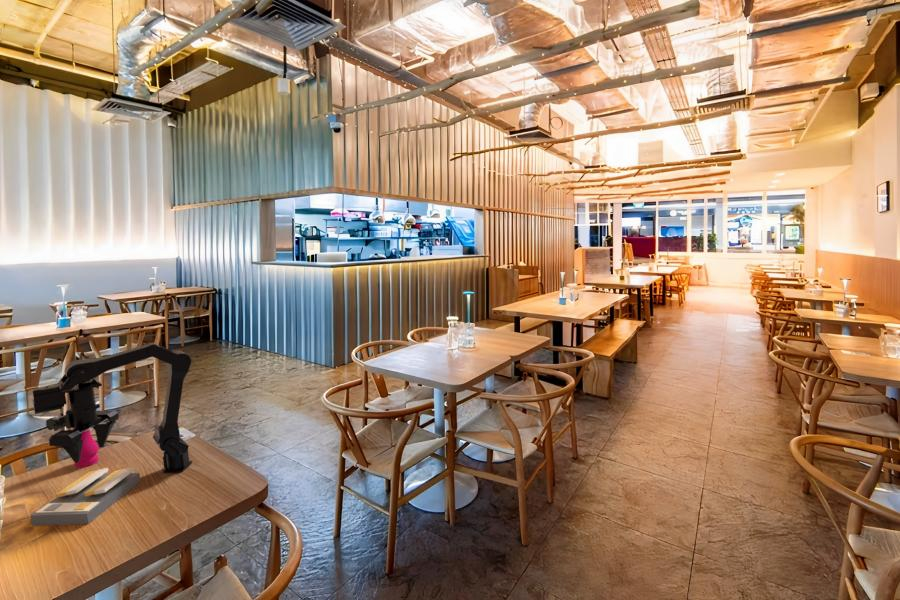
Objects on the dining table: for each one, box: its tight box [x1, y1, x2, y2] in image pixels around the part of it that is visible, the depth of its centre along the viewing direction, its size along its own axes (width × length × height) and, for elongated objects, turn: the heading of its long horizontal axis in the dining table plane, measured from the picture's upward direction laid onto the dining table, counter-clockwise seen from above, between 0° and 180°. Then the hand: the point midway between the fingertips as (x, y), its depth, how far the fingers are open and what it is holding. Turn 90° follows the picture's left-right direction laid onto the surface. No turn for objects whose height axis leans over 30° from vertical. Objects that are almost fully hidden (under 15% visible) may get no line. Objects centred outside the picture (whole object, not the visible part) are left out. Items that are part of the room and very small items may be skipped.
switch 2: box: [84, 466, 135, 496], centre depth 130 cm, size 6×12×1 cm, turn 0°
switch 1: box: [55, 467, 109, 498], centre depth 130 cm, size 6×12×1 cm, turn 0°
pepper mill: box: [71, 427, 100, 469], centre depth 149 cm, size 7×7×20 cm
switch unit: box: [30, 472, 141, 527], centre depth 127 cm, size 15×20×4 cm
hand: (89, 454), depth 129 cm, fingers open, 9 cm apart
